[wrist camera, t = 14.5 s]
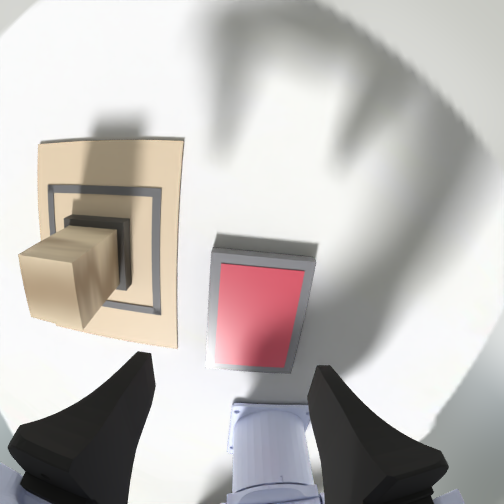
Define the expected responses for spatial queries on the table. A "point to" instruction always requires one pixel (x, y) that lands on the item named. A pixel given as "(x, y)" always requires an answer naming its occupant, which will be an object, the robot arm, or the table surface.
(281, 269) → the ink pad
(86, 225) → the stamp
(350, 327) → the table surface
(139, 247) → the cardboard sheet
